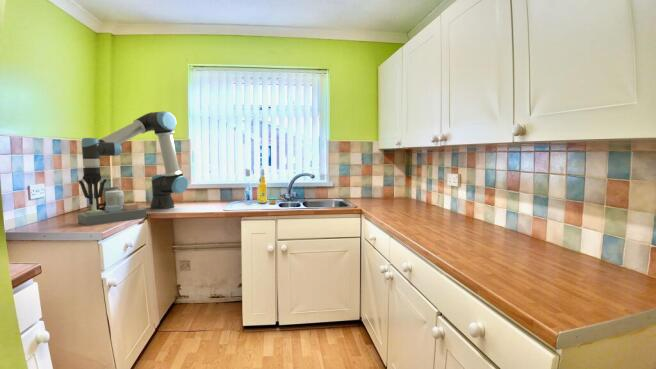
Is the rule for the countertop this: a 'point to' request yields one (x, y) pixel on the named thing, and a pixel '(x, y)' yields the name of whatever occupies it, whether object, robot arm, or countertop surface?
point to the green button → (94, 212)
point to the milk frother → (104, 196)
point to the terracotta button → (130, 206)
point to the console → (111, 217)
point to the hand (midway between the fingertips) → (94, 210)
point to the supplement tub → (114, 198)
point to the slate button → (112, 208)
